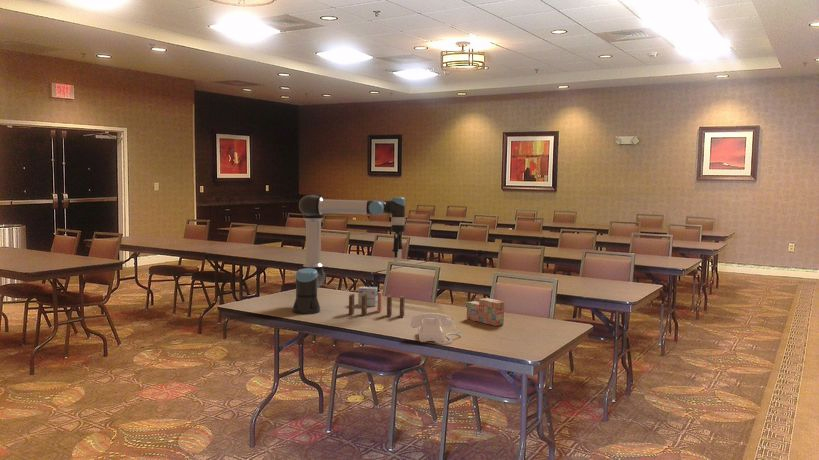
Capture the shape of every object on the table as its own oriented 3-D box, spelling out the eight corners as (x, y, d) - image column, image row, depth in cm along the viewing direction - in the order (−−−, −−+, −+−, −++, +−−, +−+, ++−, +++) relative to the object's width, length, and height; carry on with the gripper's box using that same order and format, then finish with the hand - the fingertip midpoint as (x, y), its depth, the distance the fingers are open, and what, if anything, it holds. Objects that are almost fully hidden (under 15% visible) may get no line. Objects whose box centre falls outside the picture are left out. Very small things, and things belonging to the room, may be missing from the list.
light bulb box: (377, 304, 383) (377, 286, 382) (375, 306, 376) (376, 288, 376) (359, 303, 384) (360, 286, 383) (357, 306, 377) (358, 287, 377)
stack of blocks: (466, 319, 347) (466, 296, 346) (474, 317, 351) (474, 295, 350) (495, 326, 331) (496, 302, 330) (503, 324, 335) (504, 301, 334)
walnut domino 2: (361, 315, 349) (361, 295, 349) (363, 313, 355) (363, 294, 354) (364, 316, 349) (364, 296, 348) (366, 313, 355) (366, 294, 354)
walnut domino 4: (399, 317, 347) (399, 297, 346) (401, 315, 353) (401, 295, 352) (402, 317, 347) (403, 297, 346) (404, 315, 353) (404, 295, 352)
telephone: (461, 334, 312) (461, 309, 311) (466, 345, 291) (467, 318, 290) (410, 333, 311) (410, 308, 310) (411, 344, 290) (411, 317, 289)
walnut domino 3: (386, 316, 348) (387, 296, 347) (388, 314, 354) (388, 295, 353) (390, 317, 348) (390, 297, 347) (391, 314, 353) (391, 295, 353)
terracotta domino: (377, 312, 359) (377, 293, 359) (379, 310, 365) (379, 291, 365) (380, 312, 359) (380, 293, 358) (382, 310, 365) (382, 291, 364)
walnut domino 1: (348, 315, 350) (349, 295, 349) (351, 313, 356) (351, 293, 355) (352, 315, 350) (352, 295, 349) (354, 313, 356) (354, 293, 355)
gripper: (401, 226, 349) (401, 264, 351) (407, 223, 374) (406, 259, 375) (388, 225, 350) (387, 264, 352) (394, 223, 375) (393, 259, 376)
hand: (397, 261), depth 363 cm, fingers open, 13 cm apart
